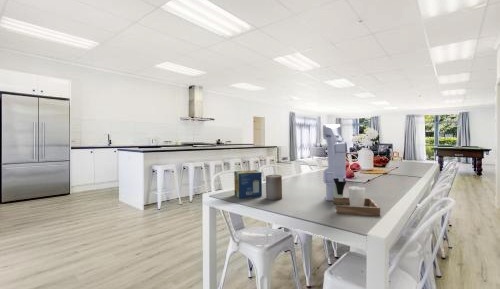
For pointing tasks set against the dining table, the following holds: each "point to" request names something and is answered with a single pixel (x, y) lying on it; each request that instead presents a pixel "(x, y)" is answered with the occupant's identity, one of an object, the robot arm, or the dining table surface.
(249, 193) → the protein box
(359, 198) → the white cup
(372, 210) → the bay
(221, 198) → the dining table surface
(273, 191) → the pillar candle
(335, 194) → the block
